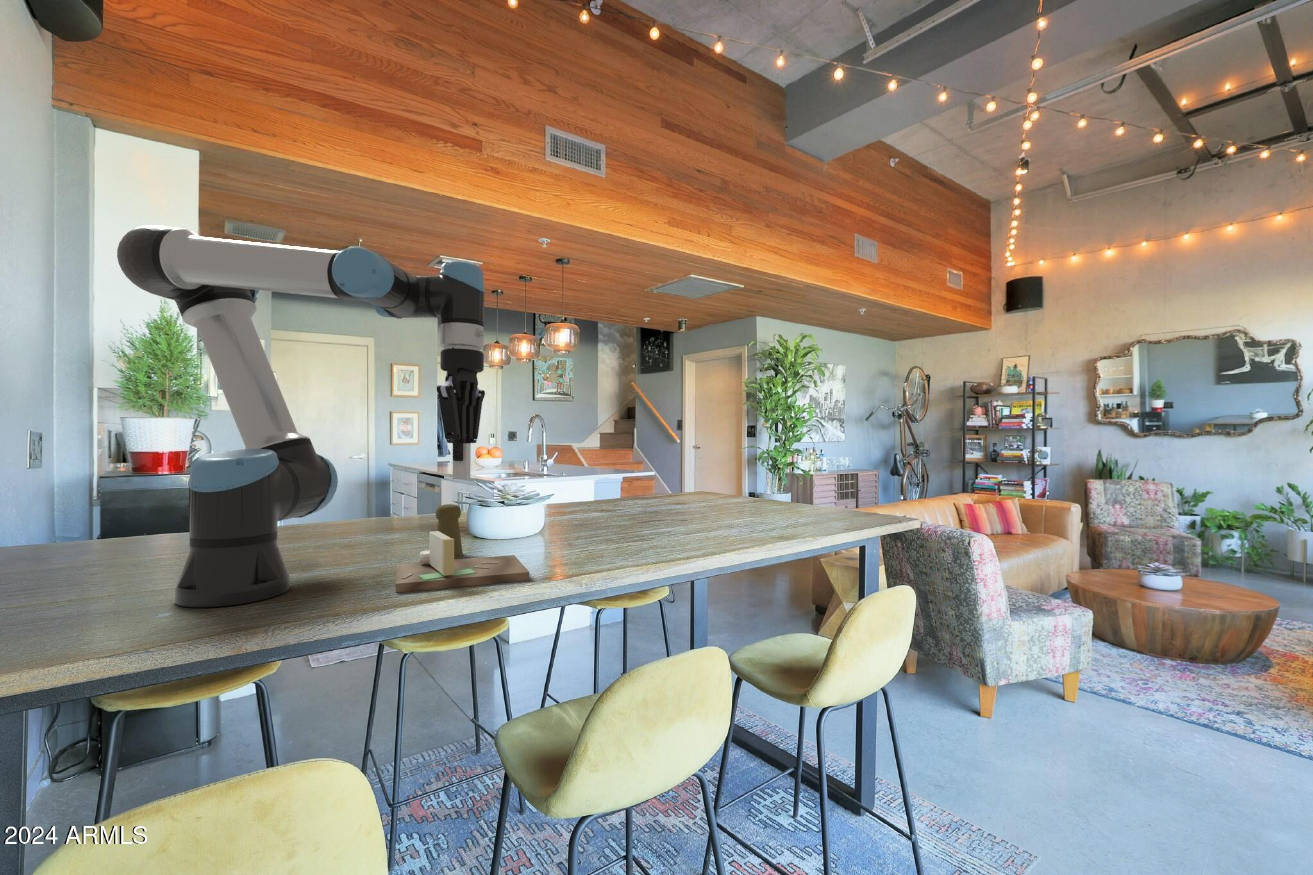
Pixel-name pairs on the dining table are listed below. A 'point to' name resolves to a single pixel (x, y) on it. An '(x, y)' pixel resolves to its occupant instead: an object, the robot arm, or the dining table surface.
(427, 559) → the cream block with knob
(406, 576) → the brown flat wooden board
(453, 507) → the cork
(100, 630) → the dining table surface
